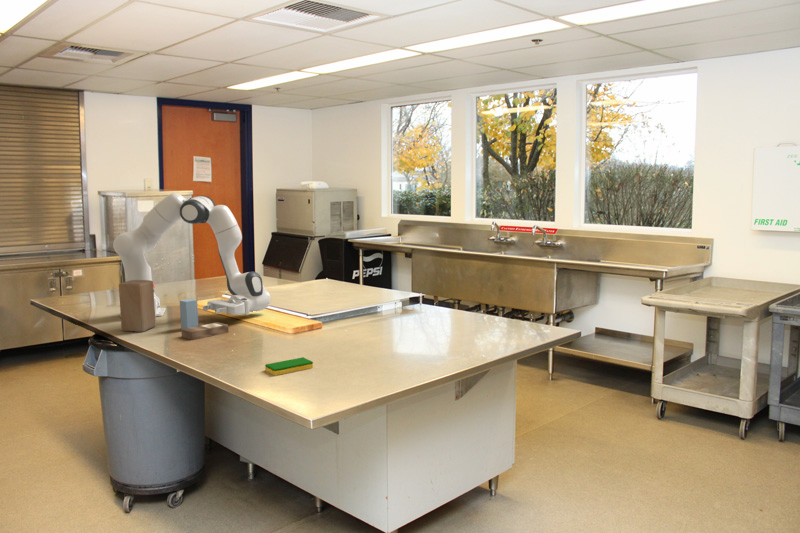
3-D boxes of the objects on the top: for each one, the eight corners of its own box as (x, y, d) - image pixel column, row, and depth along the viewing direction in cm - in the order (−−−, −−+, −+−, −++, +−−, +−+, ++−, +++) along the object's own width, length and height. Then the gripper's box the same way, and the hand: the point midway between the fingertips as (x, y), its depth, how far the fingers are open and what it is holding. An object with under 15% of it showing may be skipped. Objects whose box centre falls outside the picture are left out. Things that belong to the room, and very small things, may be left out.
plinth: (217, 329, 263) (217, 322, 263) (228, 332, 258) (228, 324, 258) (181, 336, 252) (181, 329, 251) (192, 340, 246) (192, 332, 246)
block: (142, 332, 259) (139, 283, 257) (120, 331, 261) (117, 283, 259) (156, 327, 269) (153, 280, 266) (135, 326, 271) (132, 279, 268)
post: (192, 326, 269) (190, 298, 267) (198, 328, 265) (197, 300, 264) (181, 328, 265) (179, 300, 263) (187, 330, 262) (185, 301, 260)
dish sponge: (313, 368, 209) (313, 361, 208) (274, 376, 201) (274, 369, 200) (303, 363, 214) (303, 356, 214) (265, 371, 206) (264, 364, 206)
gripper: (223, 295, 288) (196, 299, 278) (250, 300, 275) (222, 305, 265) (224, 308, 289) (197, 313, 279) (251, 314, 276) (223, 320, 265)
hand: (209, 309), depth 272 cm, fingers open, 8 cm apart
